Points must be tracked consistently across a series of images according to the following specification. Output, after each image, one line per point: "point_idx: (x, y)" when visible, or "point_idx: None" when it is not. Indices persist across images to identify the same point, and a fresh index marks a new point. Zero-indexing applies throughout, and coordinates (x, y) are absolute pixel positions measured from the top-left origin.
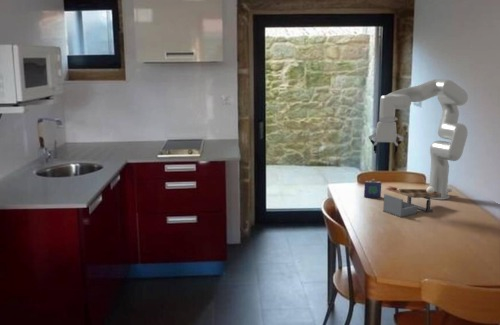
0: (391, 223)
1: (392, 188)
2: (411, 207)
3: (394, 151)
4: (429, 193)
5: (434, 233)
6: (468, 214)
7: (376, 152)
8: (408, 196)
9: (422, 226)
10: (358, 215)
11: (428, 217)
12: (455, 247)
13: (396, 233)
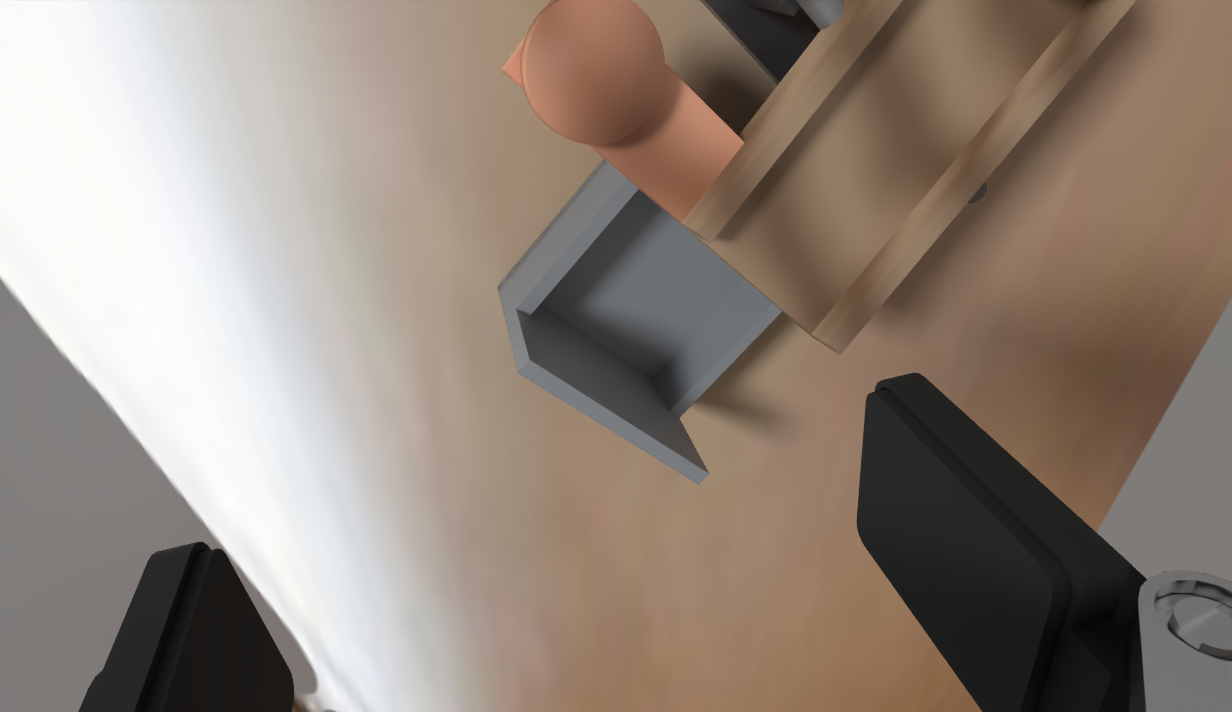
0: (588, 532)
1: (605, 142)
2: (759, 332)
3: (890, 556)
4: (1014, 142)
5: (828, 578)
6: (1184, 108)
7: (289, 699)
8: (775, 2)
9: (782, 504)
10: (310, 473)
11: None
12: (880, 687)
13: (624, 661)
